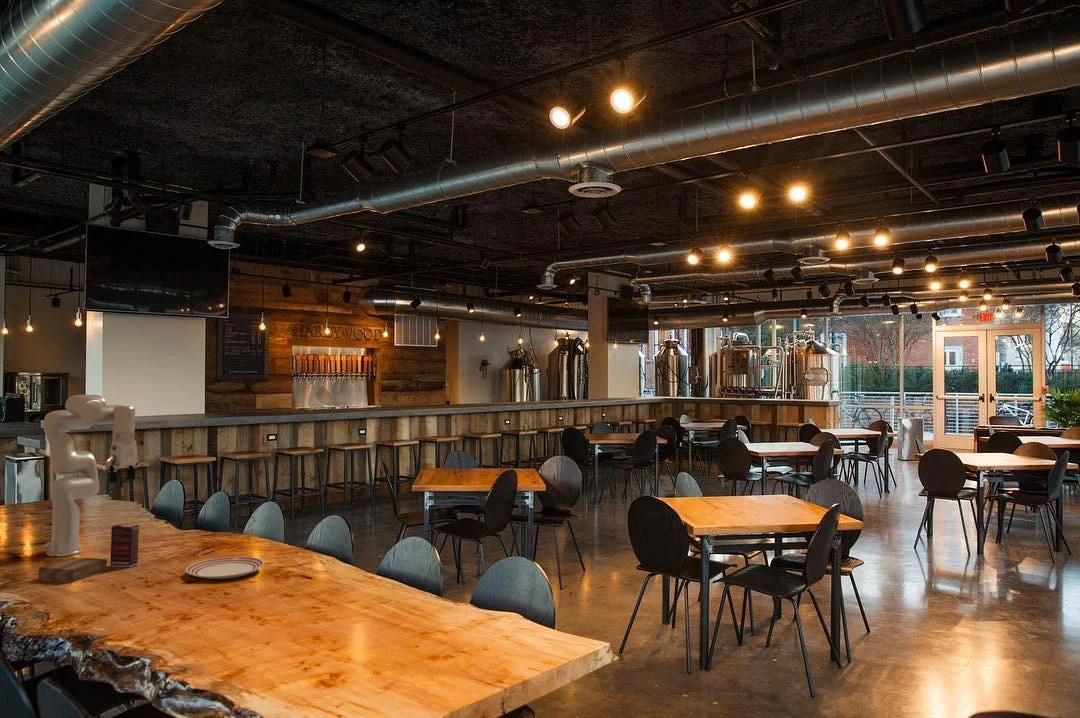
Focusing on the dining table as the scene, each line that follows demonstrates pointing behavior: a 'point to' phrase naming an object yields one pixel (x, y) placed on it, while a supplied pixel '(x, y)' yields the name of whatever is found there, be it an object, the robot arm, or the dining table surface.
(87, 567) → the walnut block
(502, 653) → the dining table surface
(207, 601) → the dining table surface
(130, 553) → the supplement box
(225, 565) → the dinner plate
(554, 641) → the dining table surface
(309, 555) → the dining table surface
